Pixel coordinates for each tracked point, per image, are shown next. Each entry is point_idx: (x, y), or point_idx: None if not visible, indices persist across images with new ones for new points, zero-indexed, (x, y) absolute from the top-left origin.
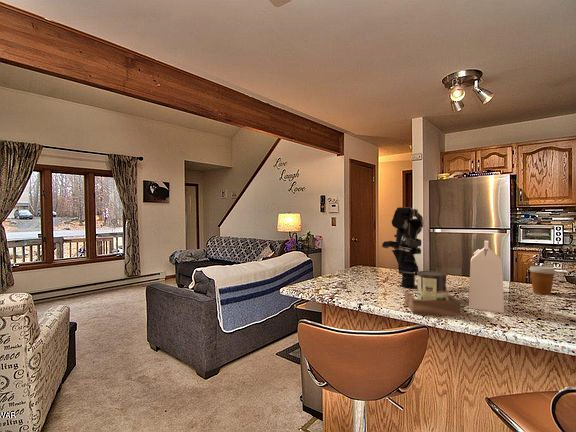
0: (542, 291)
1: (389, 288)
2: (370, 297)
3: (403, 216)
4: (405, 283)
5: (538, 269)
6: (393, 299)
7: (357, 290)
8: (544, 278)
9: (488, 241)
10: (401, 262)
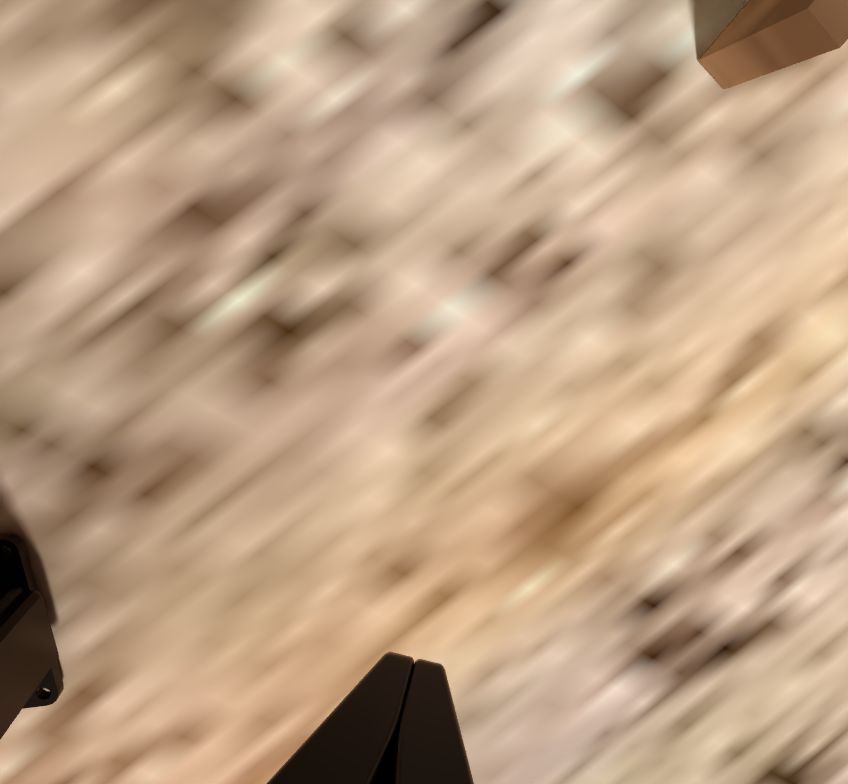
0: None
1: (284, 667)
2: (825, 489)
3: None
4: (25, 632)
5: None
6: (695, 281)
7: (682, 764)
8: None
9: None
10: (428, 752)
